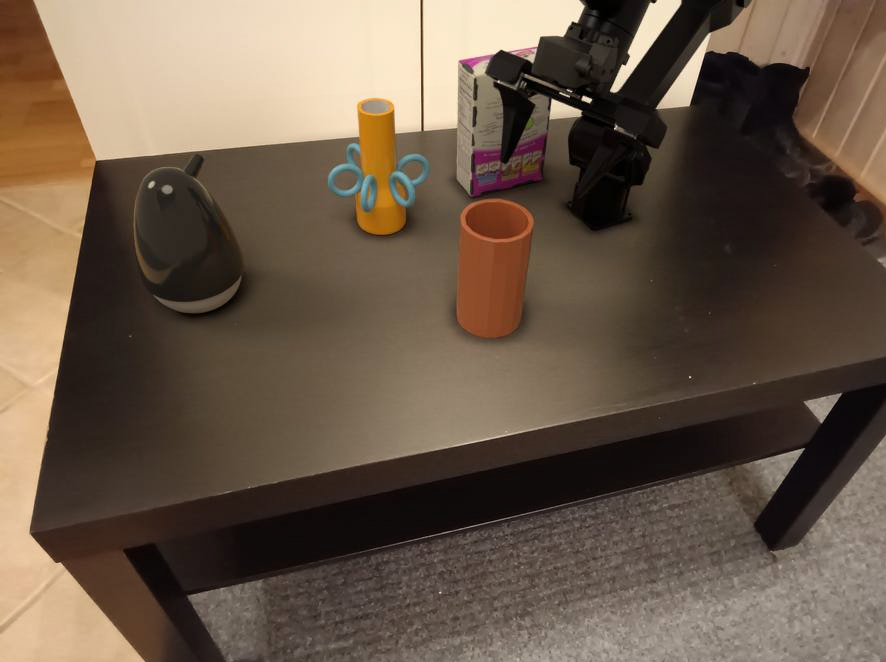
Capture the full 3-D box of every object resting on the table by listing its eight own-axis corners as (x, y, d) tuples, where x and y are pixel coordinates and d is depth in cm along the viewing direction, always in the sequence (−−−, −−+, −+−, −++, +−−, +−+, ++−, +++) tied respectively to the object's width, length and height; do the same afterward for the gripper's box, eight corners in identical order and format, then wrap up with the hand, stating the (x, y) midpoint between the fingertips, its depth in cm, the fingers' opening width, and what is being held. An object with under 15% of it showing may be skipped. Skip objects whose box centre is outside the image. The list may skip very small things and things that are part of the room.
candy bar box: (524, 163, 98) (538, 44, 86) (543, 181, 95) (559, 60, 83) (453, 179, 94) (456, 57, 82) (469, 199, 91) (476, 75, 79)
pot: (499, 287, 79) (509, 192, 70) (533, 325, 75) (547, 229, 66) (445, 305, 77) (447, 209, 68) (476, 346, 73) (483, 249, 64)
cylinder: (409, 258, 82) (407, 141, 71) (324, 243, 83) (309, 126, 72) (435, 201, 90) (436, 89, 79) (357, 188, 91) (348, 76, 81)
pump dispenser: (269, 278, 78) (244, 155, 67) (215, 338, 71) (177, 213, 60) (190, 255, 80) (153, 133, 69) (130, 312, 73) (78, 186, 62)
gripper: (494, -34, 64) (430, 130, 68) (679, 28, 58) (596, 205, 62) (537, 12, 75) (479, 152, 79) (698, 69, 68) (626, 218, 72)
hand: (539, 179), depth 73 cm, fingers open, 9 cm apart
